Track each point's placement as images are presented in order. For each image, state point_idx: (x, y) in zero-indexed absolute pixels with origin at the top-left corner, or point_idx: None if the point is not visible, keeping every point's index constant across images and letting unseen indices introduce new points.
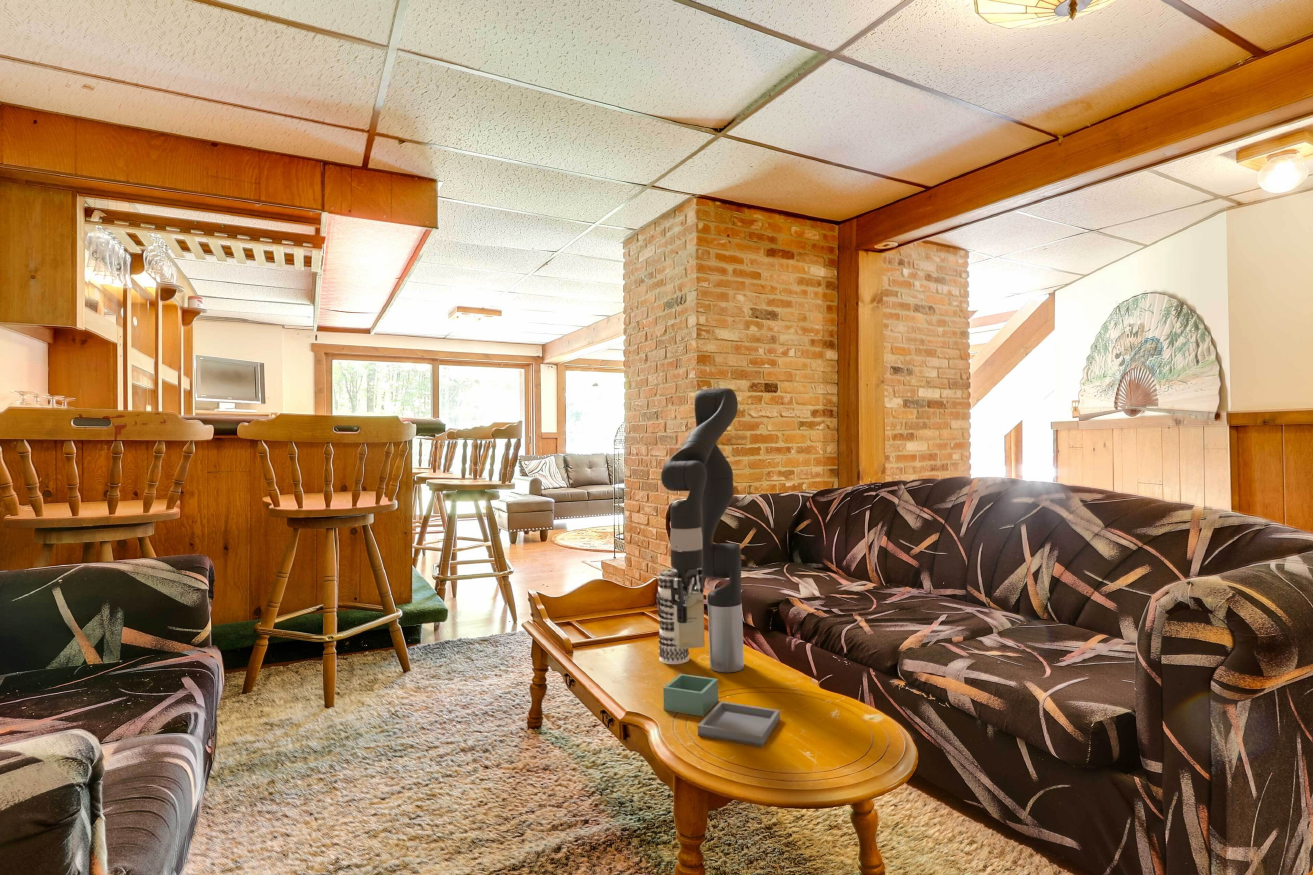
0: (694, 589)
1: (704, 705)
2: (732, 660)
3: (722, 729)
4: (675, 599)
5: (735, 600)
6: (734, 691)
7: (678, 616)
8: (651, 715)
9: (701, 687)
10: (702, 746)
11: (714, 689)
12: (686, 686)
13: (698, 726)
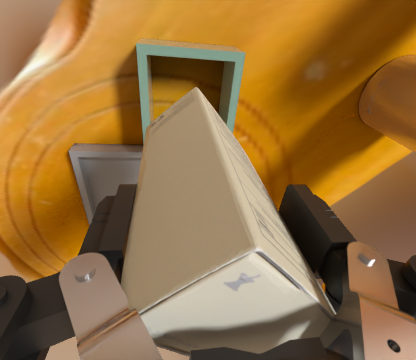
0: (324, 345)
1: None
2: (375, 123)
3: (80, 187)
4: (184, 236)
5: None
6: (267, 142)
7: (96, 217)
8: (100, 18)
9: (224, 107)
10: (44, 161)
11: None
12: (228, 69)
13: (69, 151)
